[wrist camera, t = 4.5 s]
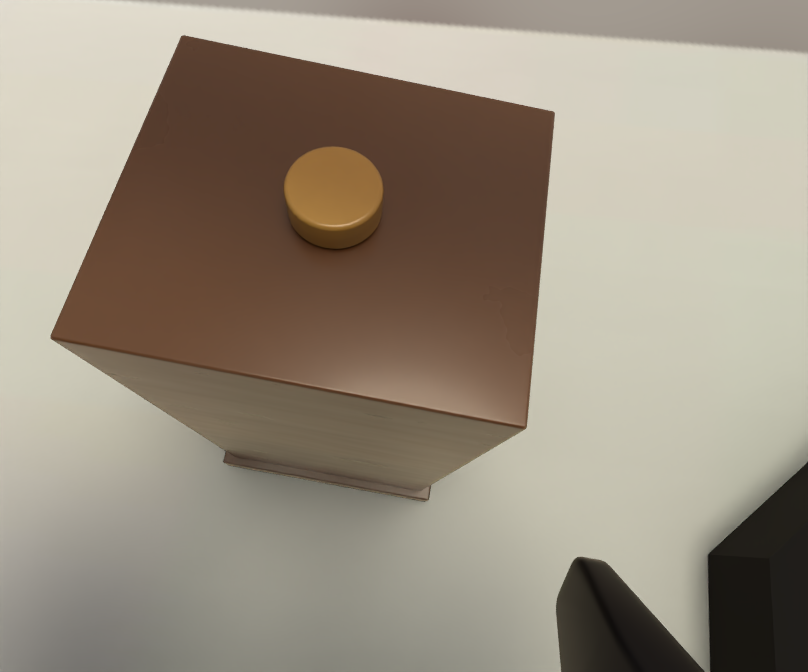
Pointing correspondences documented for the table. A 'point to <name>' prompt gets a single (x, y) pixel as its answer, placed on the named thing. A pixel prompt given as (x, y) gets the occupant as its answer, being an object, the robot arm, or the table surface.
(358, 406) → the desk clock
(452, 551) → the table surface
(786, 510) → the wall clock
